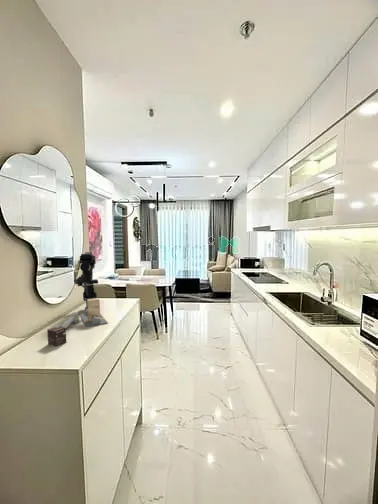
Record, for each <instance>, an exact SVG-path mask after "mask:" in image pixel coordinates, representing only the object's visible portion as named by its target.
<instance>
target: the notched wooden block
mask: <svg viewBox="0 0 378 504" xmlns="http://www.w3.org/2000/svg"><path fill="white" fill-rule="evenodd" d="M100 304H101V303H100V299H99V298H98V297H97V298H96V299H88V300H87V308H88V320H89V321H92V316H97V317H100V314H101V305H100Z"/></svg>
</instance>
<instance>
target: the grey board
mask: <svg viewBox="0 0 378 504" xmlns="http://www.w3.org/2000/svg"><path fill="white" fill-rule="evenodd" d="M79 317H80V318H81V320H82V322H83V323H84V325H85V327H86V328H88V327H94V326H101V325H106V324H109V322H108V321H107V320H106V319H105V318H104V316H103V315H102V314H101V313H100V317H97V316H92V321H89V320H88V309H86V308H85V313H80V314H79Z"/></svg>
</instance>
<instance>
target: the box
mask: <svg viewBox="0 0 378 504" xmlns="http://www.w3.org/2000/svg"><path fill="white" fill-rule="evenodd" d="M57 326H58V325H57ZM57 326H54V327H52V328H48V329H47V331H46V333H47V345H50V346H53V347H58V346H60V345H63V344H65V343H67V328H64V327H59V326H58V327H57Z"/></svg>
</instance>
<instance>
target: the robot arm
mask: <svg viewBox="0 0 378 504" xmlns="http://www.w3.org/2000/svg"><path fill="white" fill-rule="evenodd" d="M96 263H97V262H96V256H95V255H94V254H93V252H91V251H86V252H84V253H81V254H80V256H79V264H80V266H79V269H80V270H81V273H82V274H80V276H78V277H77V278H76V279H73V282H74V284H75V285H77V287H82V288H83V292H82V297H83V301H84V302H85V307H84V308H85V310H86V309H88V308H87V300H88V299H96V298H98V294H97V292H96V291H95V287H94V286H95V285H97V284H99V280H98V279H93V276H94V275H93V274H94V273H93V272H94V271H93V270H94V269H95V268H96V267H95V266H96Z"/></svg>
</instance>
